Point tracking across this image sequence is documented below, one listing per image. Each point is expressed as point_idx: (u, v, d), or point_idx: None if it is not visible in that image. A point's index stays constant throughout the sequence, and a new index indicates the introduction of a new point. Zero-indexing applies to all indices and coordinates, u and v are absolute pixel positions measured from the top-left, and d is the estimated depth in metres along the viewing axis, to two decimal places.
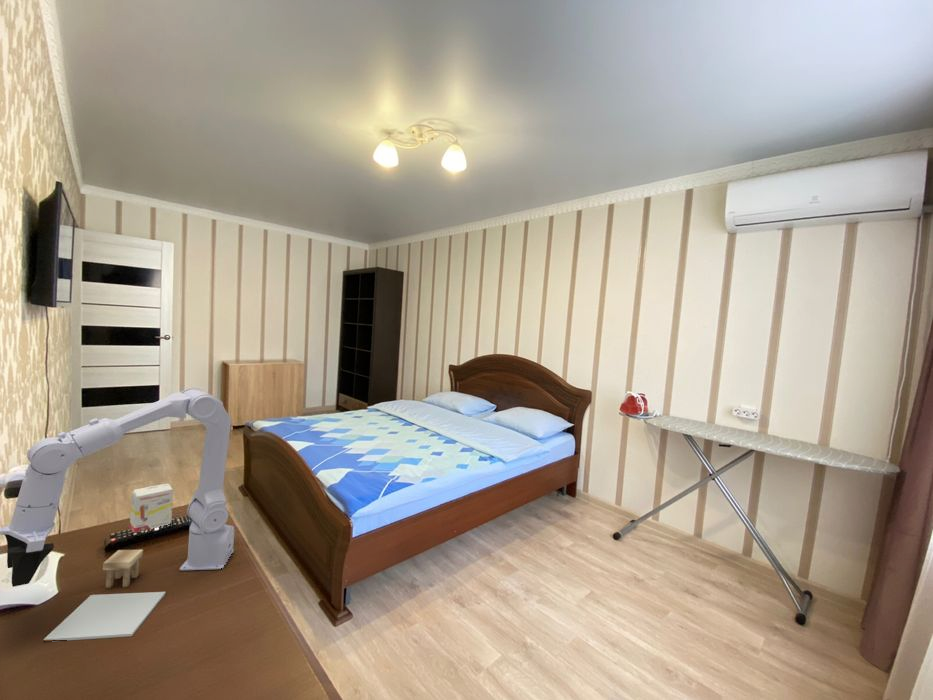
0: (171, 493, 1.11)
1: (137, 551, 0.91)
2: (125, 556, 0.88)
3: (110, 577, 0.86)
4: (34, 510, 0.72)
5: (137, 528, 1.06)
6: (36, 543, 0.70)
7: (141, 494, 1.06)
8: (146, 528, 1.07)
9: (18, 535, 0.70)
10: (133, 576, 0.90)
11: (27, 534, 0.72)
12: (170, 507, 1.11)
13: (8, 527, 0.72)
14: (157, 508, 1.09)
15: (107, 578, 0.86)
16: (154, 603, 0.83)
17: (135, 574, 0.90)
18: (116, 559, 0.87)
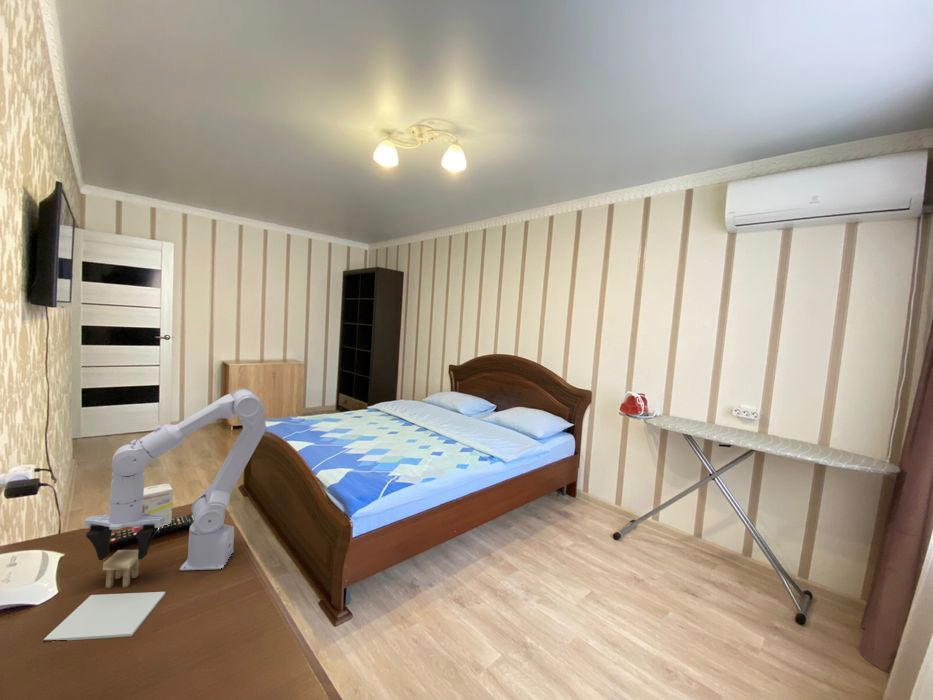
0: (171, 493, 1.11)
1: (137, 551, 0.91)
2: (125, 556, 0.88)
3: (110, 577, 0.86)
4: (139, 502, 0.88)
5: (137, 528, 1.06)
6: (162, 519, 0.90)
7: None
8: None
9: (138, 522, 0.87)
10: (133, 576, 0.90)
11: (139, 520, 0.88)
12: (170, 507, 1.11)
13: (115, 524, 0.85)
14: (157, 508, 1.09)
15: (107, 578, 0.86)
16: (154, 603, 0.83)
17: (135, 574, 0.90)
18: (116, 559, 0.87)
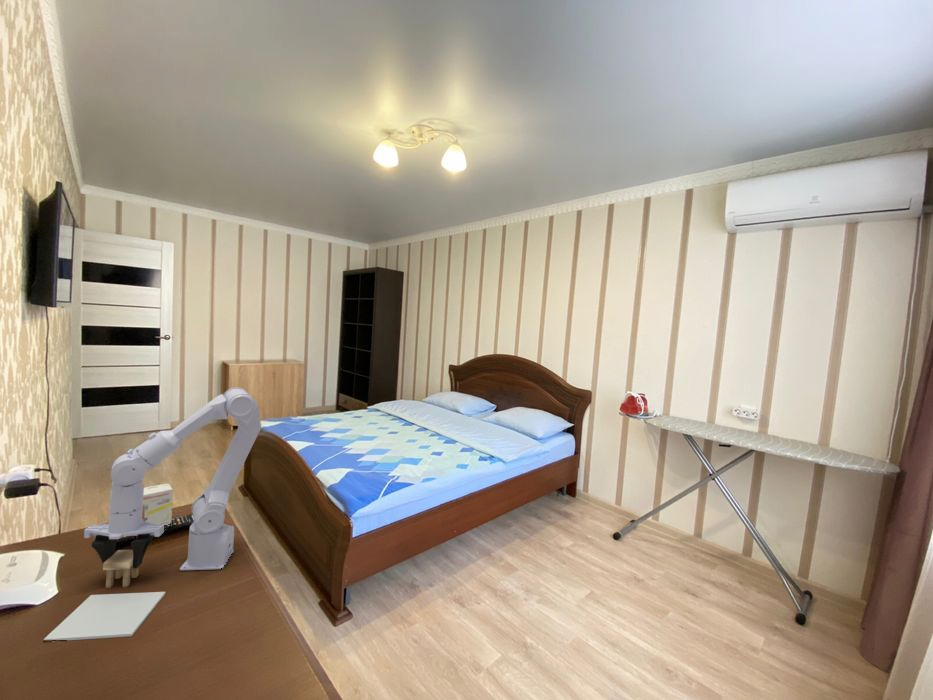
0: (171, 493, 1.11)
1: None
2: (125, 556, 0.88)
3: (110, 577, 0.86)
4: (138, 511, 0.88)
5: None
6: (161, 528, 0.90)
7: None
8: None
9: (137, 531, 0.87)
10: (133, 576, 0.90)
11: (138, 530, 0.88)
12: (170, 507, 1.11)
13: (114, 533, 0.85)
14: (157, 508, 1.09)
15: (107, 578, 0.86)
16: (154, 603, 0.83)
17: (135, 574, 0.90)
18: (116, 559, 0.87)
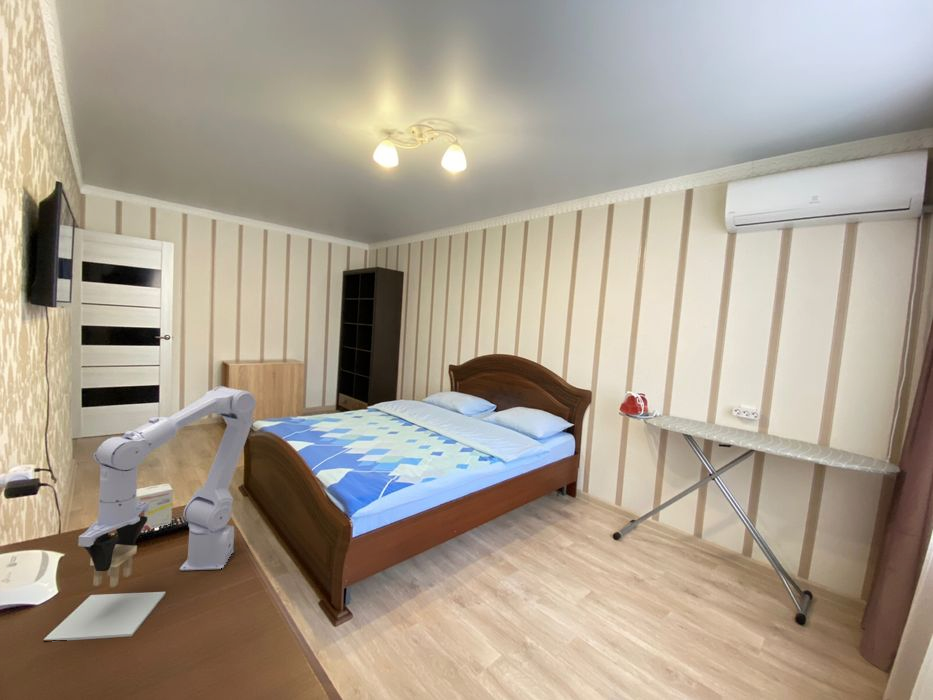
0: (171, 493, 1.11)
1: None
2: (117, 550, 0.80)
3: (118, 573, 0.79)
4: None
5: None
6: None
7: (141, 494, 1.06)
8: (146, 528, 1.07)
9: (140, 511, 0.83)
10: None
11: None
12: (170, 507, 1.11)
13: (130, 519, 0.79)
14: (157, 508, 1.09)
15: (115, 576, 0.78)
16: (154, 603, 0.83)
17: None
18: (117, 553, 0.79)
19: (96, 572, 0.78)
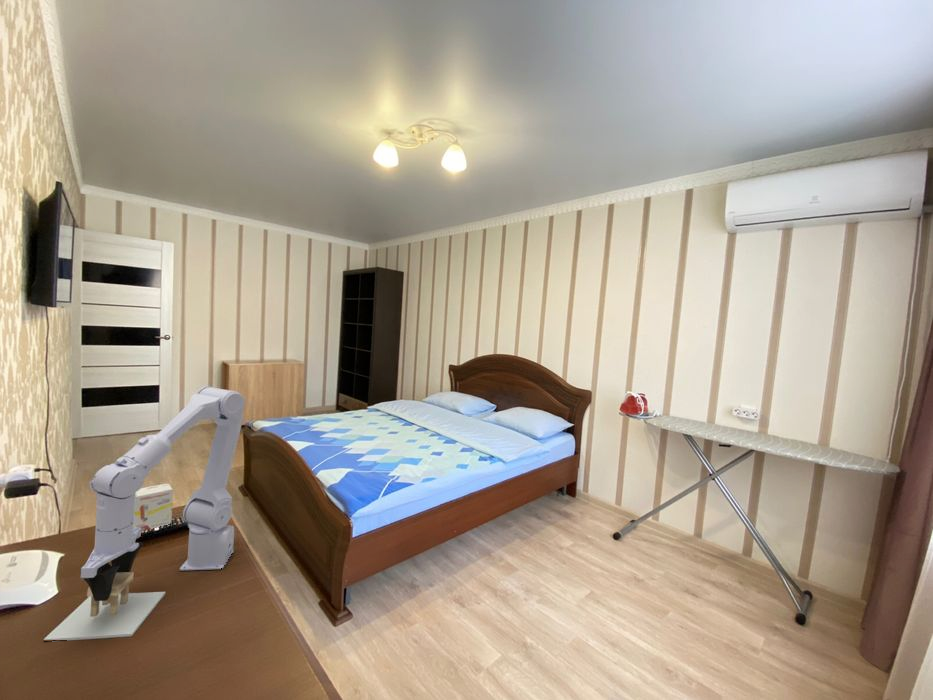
0: (171, 493, 1.11)
1: None
2: (114, 578, 0.79)
3: None
4: None
5: None
6: None
7: (141, 494, 1.06)
8: (146, 528, 1.07)
9: (135, 537, 0.82)
10: (108, 602, 0.80)
11: None
12: (170, 507, 1.11)
13: (129, 546, 0.79)
14: (157, 508, 1.09)
15: (115, 604, 0.77)
16: (154, 603, 0.83)
17: (109, 598, 0.80)
18: (116, 582, 0.78)
19: (93, 602, 0.76)
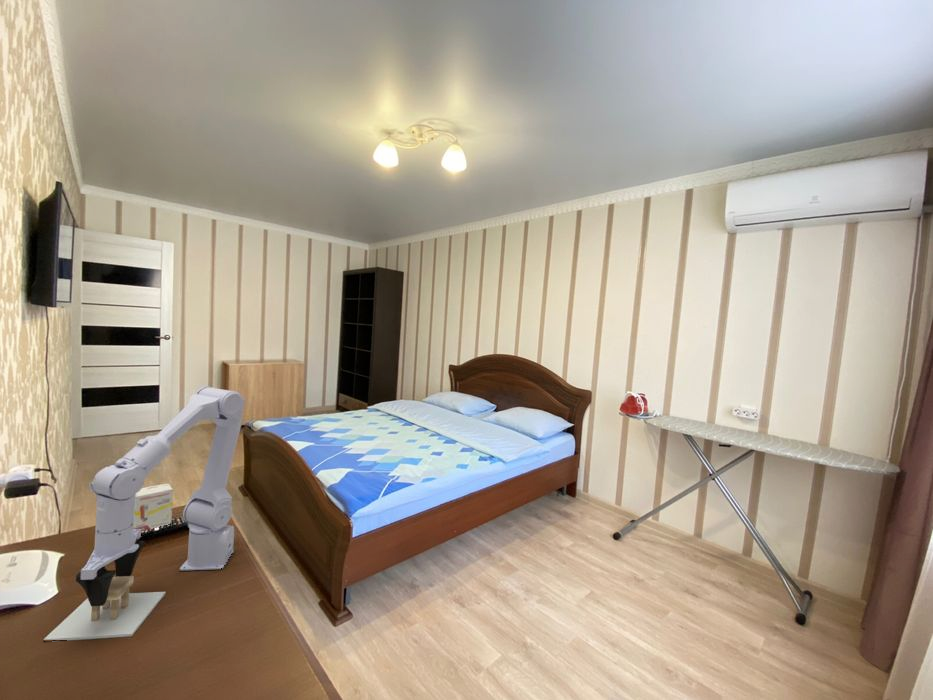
0: (171, 493, 1.11)
1: None
2: (114, 582, 0.79)
3: None
4: None
5: (137, 528, 1.06)
6: None
7: (141, 494, 1.06)
8: (146, 528, 1.07)
9: (135, 538, 0.82)
10: (108, 606, 0.80)
11: None
12: (170, 507, 1.11)
13: (129, 547, 0.79)
14: (157, 508, 1.09)
15: (116, 608, 0.78)
16: (154, 603, 0.83)
17: (109, 602, 0.81)
18: (116, 586, 0.78)
19: (94, 607, 0.77)
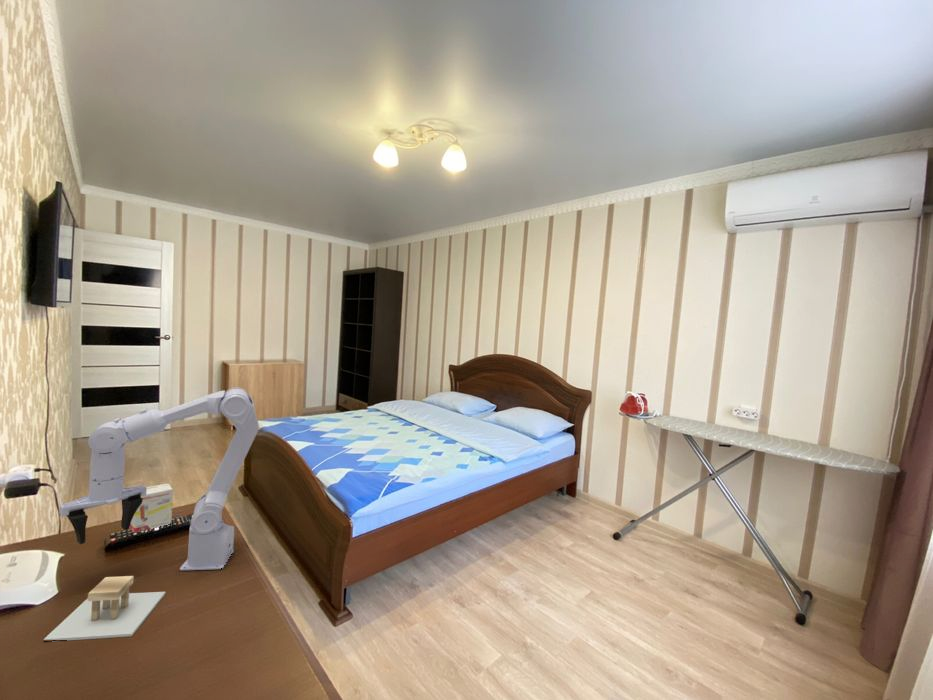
0: (171, 493, 1.11)
1: (107, 579, 0.80)
2: (114, 582, 0.79)
3: None
4: (123, 476, 0.90)
5: (137, 528, 1.06)
6: None
7: None
8: (146, 528, 1.07)
9: (129, 493, 0.90)
10: (108, 606, 0.80)
11: (124, 493, 0.90)
12: (170, 507, 1.11)
13: (109, 499, 0.86)
14: (157, 508, 1.09)
15: (116, 608, 0.78)
16: (154, 603, 0.83)
17: (109, 602, 0.81)
18: (116, 586, 0.78)
19: (94, 607, 0.77)
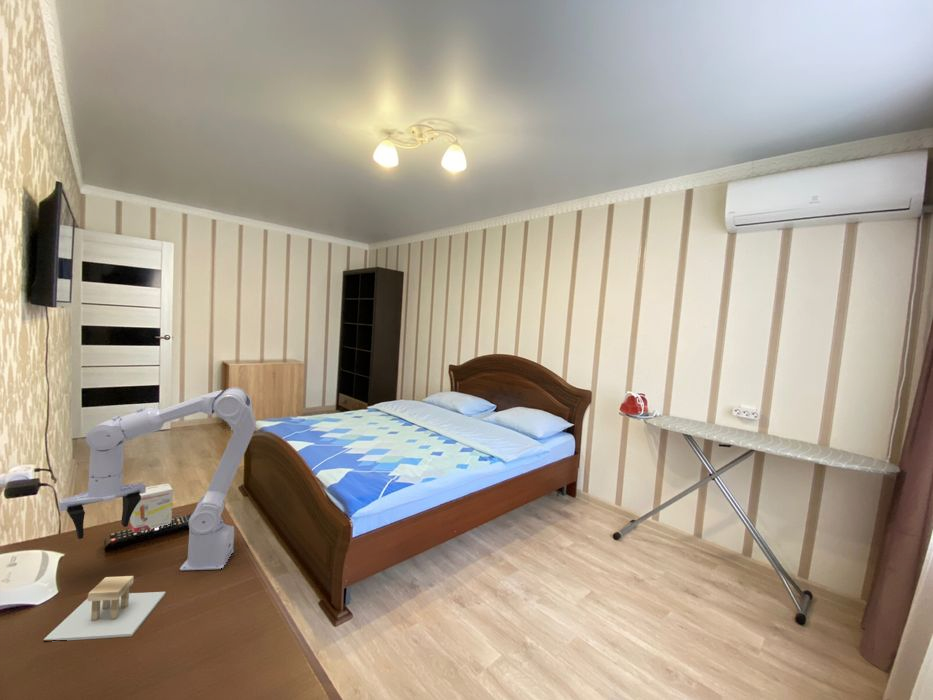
0: (171, 493, 1.11)
1: (107, 579, 0.80)
2: (114, 582, 0.79)
3: None
4: (122, 473, 0.91)
5: (137, 528, 1.06)
6: None
7: (141, 494, 1.06)
8: (146, 528, 1.07)
9: (127, 491, 0.91)
10: (108, 606, 0.80)
11: (123, 490, 0.92)
12: (170, 507, 1.11)
13: (106, 496, 0.87)
14: (157, 508, 1.09)
15: (116, 608, 0.78)
16: (154, 603, 0.83)
17: (109, 602, 0.81)
18: (116, 586, 0.78)
19: (94, 607, 0.77)
